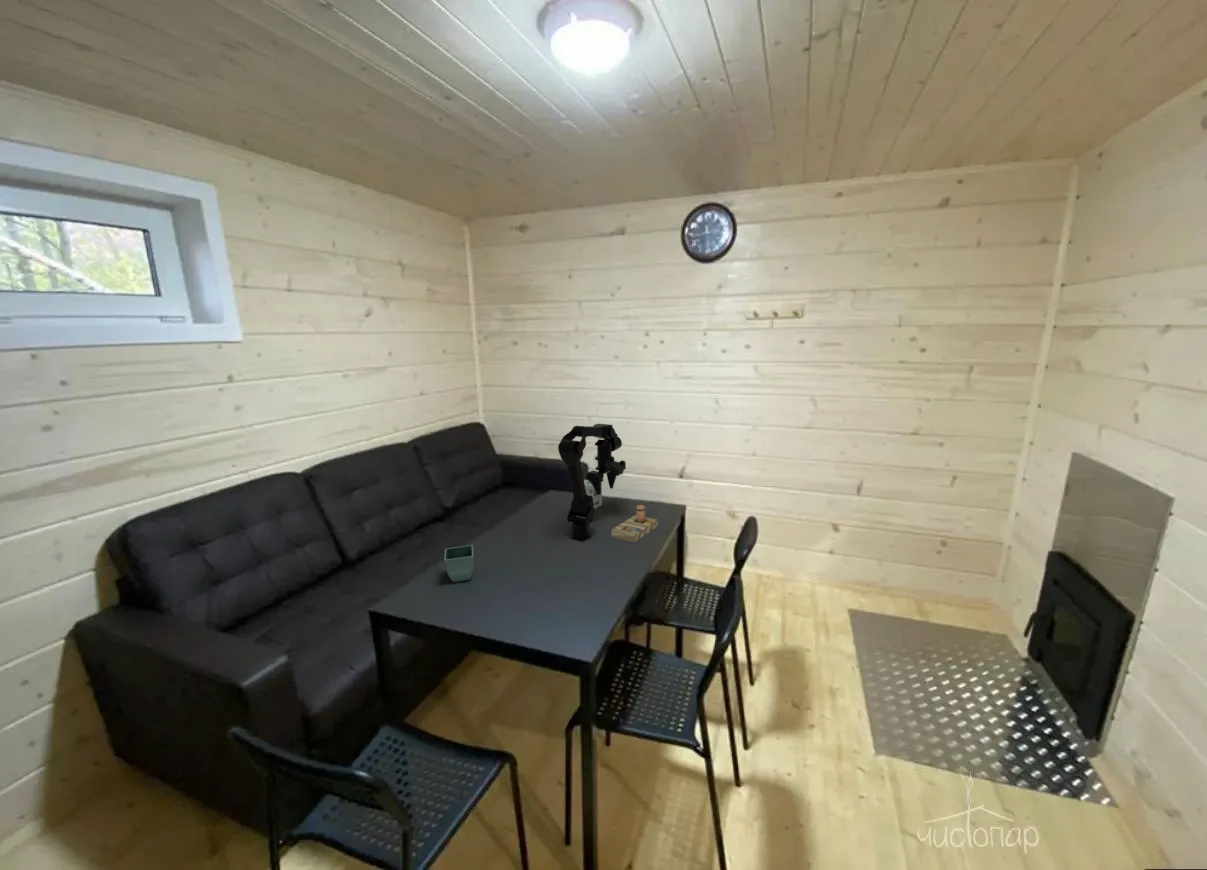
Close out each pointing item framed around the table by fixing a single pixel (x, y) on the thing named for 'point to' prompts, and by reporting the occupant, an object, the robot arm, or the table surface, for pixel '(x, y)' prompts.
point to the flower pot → (459, 562)
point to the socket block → (634, 529)
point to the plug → (640, 514)
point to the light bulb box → (593, 493)
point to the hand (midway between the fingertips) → (605, 491)
